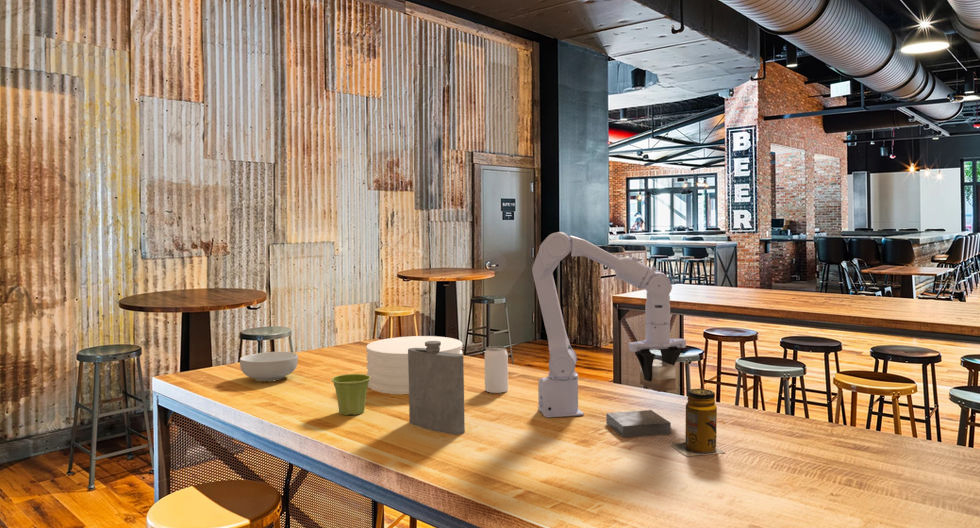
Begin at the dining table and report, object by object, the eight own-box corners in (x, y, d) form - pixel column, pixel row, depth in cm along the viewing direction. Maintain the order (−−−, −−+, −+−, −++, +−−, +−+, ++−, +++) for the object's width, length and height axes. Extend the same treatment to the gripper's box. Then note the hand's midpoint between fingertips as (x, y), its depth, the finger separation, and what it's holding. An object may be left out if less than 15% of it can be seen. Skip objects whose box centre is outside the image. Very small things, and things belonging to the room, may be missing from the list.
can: (505, 394, 179) (505, 350, 178) (482, 393, 180) (482, 350, 179) (510, 388, 185) (509, 346, 184) (487, 387, 186) (486, 345, 186)
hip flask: (467, 431, 147) (466, 343, 146) (455, 436, 144) (454, 346, 143) (416, 419, 157) (414, 336, 156) (404, 423, 154) (402, 339, 152)
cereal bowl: (310, 376, 203) (309, 353, 202) (265, 388, 189) (264, 364, 188) (273, 370, 212) (272, 348, 212) (228, 381, 198) (227, 358, 198)
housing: (658, 391, 152) (658, 366, 152) (640, 383, 160) (639, 359, 159) (675, 389, 154) (675, 364, 153) (656, 381, 161) (656, 357, 161)
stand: (623, 437, 142) (622, 426, 142) (606, 423, 152) (606, 413, 151) (670, 433, 144) (670, 422, 144) (651, 420, 154) (651, 410, 153)
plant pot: (353, 405, 170) (352, 372, 170) (379, 410, 165) (378, 376, 164) (324, 413, 163) (323, 379, 162) (351, 420, 157) (350, 384, 157)
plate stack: (481, 384, 190) (480, 345, 190) (393, 400, 174) (392, 358, 174) (433, 367, 213) (433, 332, 213) (352, 380, 198) (351, 342, 197)
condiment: (725, 453, 132) (725, 394, 131) (686, 457, 130) (687, 397, 129) (705, 441, 139) (705, 385, 138) (668, 445, 137) (669, 388, 136)
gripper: (640, 327, 150) (639, 386, 150) (693, 323, 154) (693, 380, 155) (624, 322, 156) (623, 379, 157) (676, 319, 161) (675, 374, 162)
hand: (657, 379), depth 157 cm, fingers closed on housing, 5 cm apart
